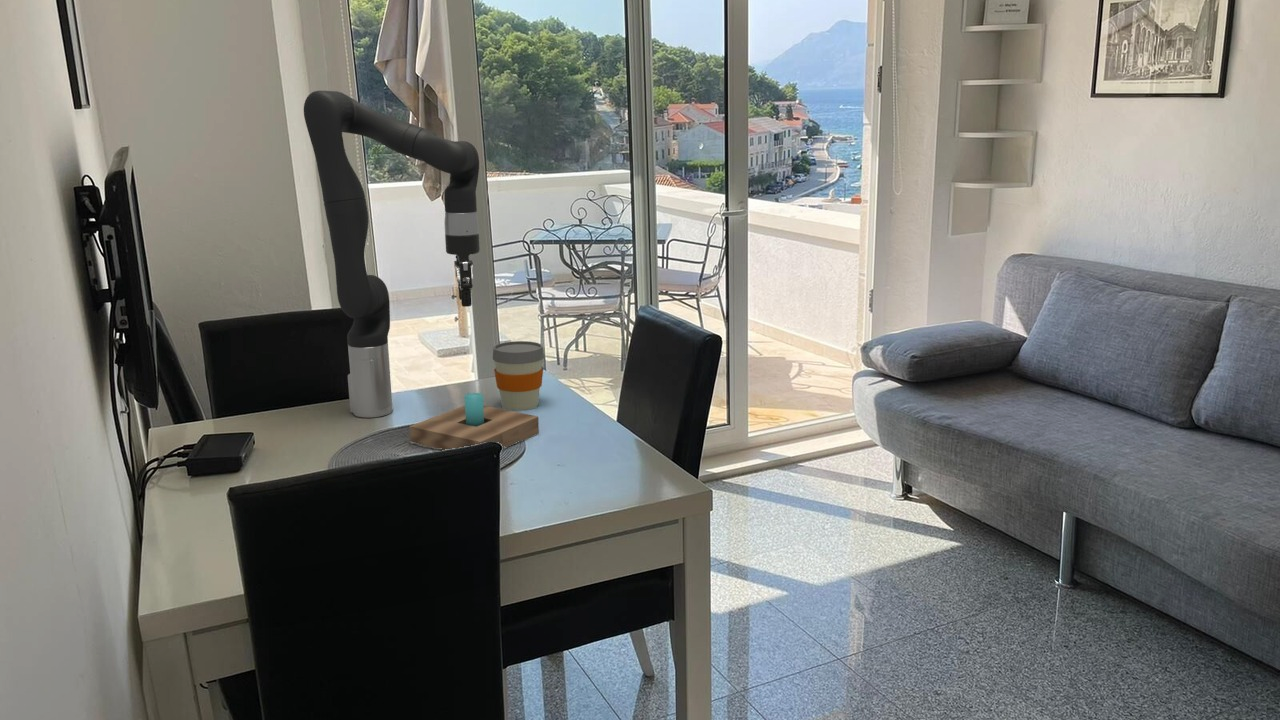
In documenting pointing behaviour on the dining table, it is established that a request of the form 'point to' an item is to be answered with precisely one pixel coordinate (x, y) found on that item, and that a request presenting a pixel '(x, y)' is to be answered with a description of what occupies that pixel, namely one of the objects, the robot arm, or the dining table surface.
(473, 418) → the peg
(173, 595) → the dining table surface
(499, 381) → the reusable coffee cup
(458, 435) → the socket block
